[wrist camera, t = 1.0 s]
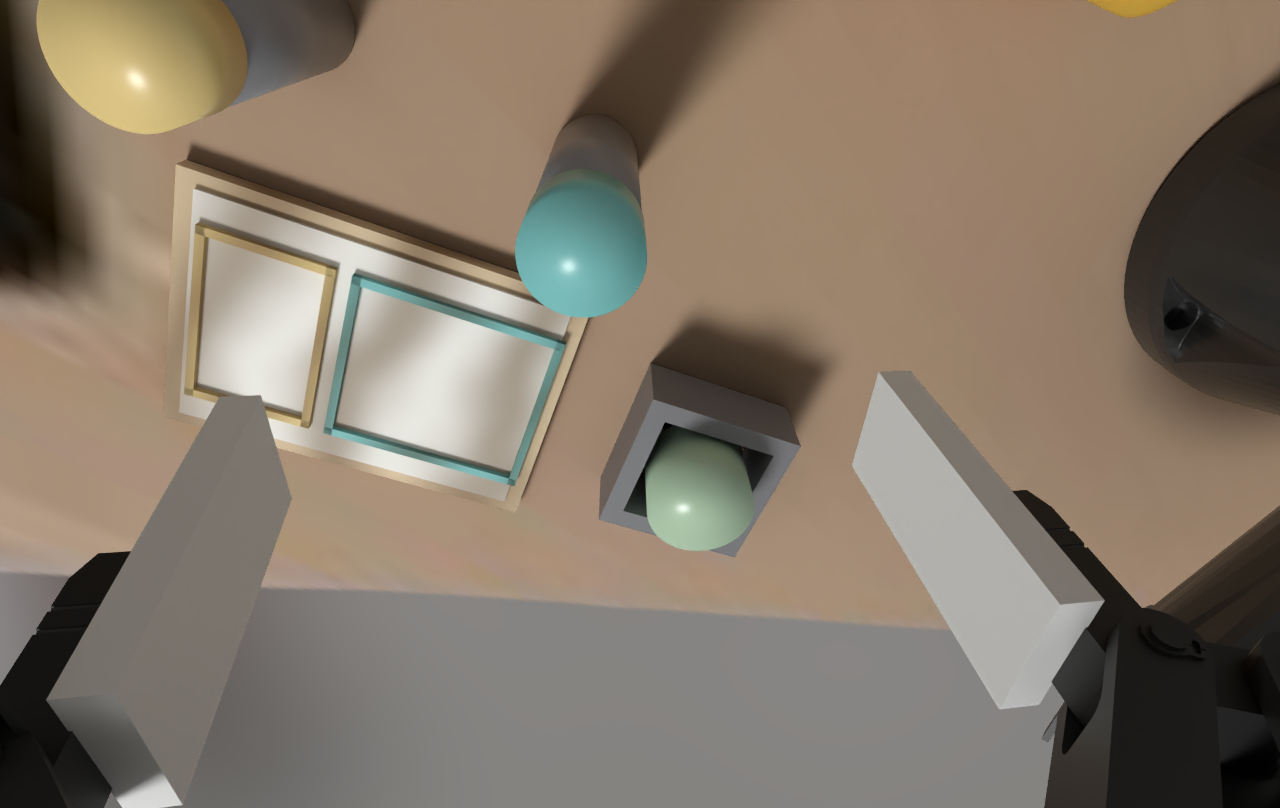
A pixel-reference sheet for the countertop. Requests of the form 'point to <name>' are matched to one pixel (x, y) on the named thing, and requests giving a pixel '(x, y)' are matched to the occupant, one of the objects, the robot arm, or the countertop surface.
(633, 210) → the teal marker
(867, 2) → the countertop surface
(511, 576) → the countertop surface
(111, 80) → the ochre marker
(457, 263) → the double window tray
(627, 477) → the button housing
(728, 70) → the countertop surface
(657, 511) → the button
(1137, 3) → the dumbbell
